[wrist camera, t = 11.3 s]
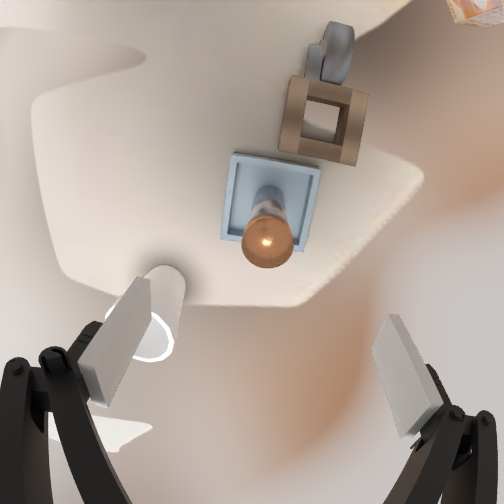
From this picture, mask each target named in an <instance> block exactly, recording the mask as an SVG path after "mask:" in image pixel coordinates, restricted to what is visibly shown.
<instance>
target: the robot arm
mask: <svg viewBox="0 0 504 504" xmlns="http://www.w3.org/2000/svg"><path fill="white" fill-rule="evenodd" d="M151 321H152V314H151V289H150V279H147V278H142V277H136V279H135V280H134V281H133V283H132V284H131V285H130V287H129V288H128V290H127V291H126V292H125V294H124V295H123V296H122V298H121V299H120V300H119V302H118V303H117V305H116V306H115V307H114V309H113V310H112V312H111V313H110V314H109V316H108V317H107V319H106V320H105V321H104V323H100V322H97V321H93V322H91V323H90V324H88V325H87V326H85V328H84V329H83V330H82V332H81V333H80V335H79V336H78V337H77V339H76V340H75V341H74V343H73V344H72V346H71V347H70V348H69V350H68V351H67V352H66V351H65V350H64V349H63V348H61V347H57V346H54V347H49V348H46V349H45V350H43V351H42V352H41V354H40V355H39V364H40V366H41V368H40V367H30V364H29V363H28V361H27V360H26V359H24V358H21V357H17V358H13V359H11V360H9V361H8V362H7V363H6V366H5V368H4V372H3V377H2V382H1V387H0V504H53V499H52V490H51V480H50V468H49V451H48V412H53V416H54V420H55V424H56V427H57V431H58V434H59V438H60V441H61V444H62V447H63V450H64V453H65V456H66V459H67V462H68V465H69V467H70V470H71V473H72V475H73V478H74V480H75V483H76V485H77V488H78V490H79V492H80V495H81V497H82V499H83V502H84V504H132V502H131V500H130V499H129V497H128V495H127V493H126V491H125V490H124V488H123V486H122V484H121V482H120V480H119V478H118V476H117V474H116V472H115V470H114V468H113V466H112V464H111V462H110V460H109V458H108V455H107V453H106V451H105V449H104V446H103V444H102V442H101V439H100V437H99V435H98V432H97V430H96V427H95V425H94V422H93V419H92V417H91V414H90V411H89V409H88V406H87V404H86V403H87V401H88V399H89V397H90V398H91V401H92V403H93V404H95V405H98V406H101V407H104V408H107V409H108V408H109V406H110V403H111V401H112V399H113V397H114V395H115V392H116V391H117V388H118V386H119V384H120V382H121V380H122V378H123V376H124V374H125V372H126V370H127V368H128V366H129V364H130V362H131V360H132V358H133V356H134V354H135V352H136V350H137V348H138V346H139V344H140V342H141V340H142V338H143V336H144V334H145V332H146V330H147V328H148V326H149V324H150V322H151ZM371 352H372V355H373V358H374V360H375V363H376V366H377V369H378V371H379V374H380V377H381V380H382V383H383V386H384V389H385V392H386V395H387V398H388V401H389V404H390V407H391V410H392V414H393V417H394V420H395V423H396V427H397V429H398V433H399V437H400V439H406V438H413V437H414V436H415V435H416V434H417V433H418V432H419V431H420V433H421V437H420V438H419V439H418V440H417V441H416V442H415V443H414V444H413V445H412V446H411V447H410V449H412V448H413V447H414V446H415V447H414V449H413V451H412V453H411V455H410V457H409V459H408V461H407V463H406V465H405V467H404V469H403V471H402V473H401V474H400V476H399V478H398V480H397V482H396V483H395V485H394V487H393V488H392V490H391V492H390V493H389V495H388V497H387V498H386V500H385V501H384V503H383V504H437V503H438V501H439V498H440V496H441V494H442V498H441V504H496V502H497V484H498V450H497V433H496V422H495V418H494V417H493V415H492V414H491V413H489V412H488V411H485V410H482V411H480V412H479V413H478V414H477V416H475V417H474V416H468V415H465V412H464V411H463V410H462V409H461V408H460V407H459V406H456V405H452V404H451V402H450V399H449V397H448V395H447V394H446V391H445V389H444V387H443V385H442V383H441V381H440V380H439V377H438V375H437V373H436V371H435V370H434V369H433V368H432V367H431V365H430V364H425V363H424V361H423V359H422V357H421V355H420V353H419V351H418V349H417V347H416V346H415V344H414V342H413V340H412V338H411V336H410V334H409V332H408V331H407V329H406V327H405V326H404V324H403V322H402V320H401V318H400V316H399V315H395V314H387V316H386V319H385V321H384V323H383V325H382V327H381V329H380V332H379V334H378V336H377V338H376V340H375V342H374V344H373V346H372V348H371ZM471 450H472V453H471ZM442 492H443V493H442Z"/></svg>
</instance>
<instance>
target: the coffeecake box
mask: <svg viewBox="0 0 504 504" xmlns="http://www.w3.org/2000/svg"><path fill="white" fill-rule="evenodd" d="M446 2H447V5H448V7H449V10H450V12H451V15H452V17H453V20H454V23H456V24H463V25H469V26H474V27H479V28H485V27H489V26H493V25H496V24H500V23H504V0H446Z"/></svg>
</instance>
